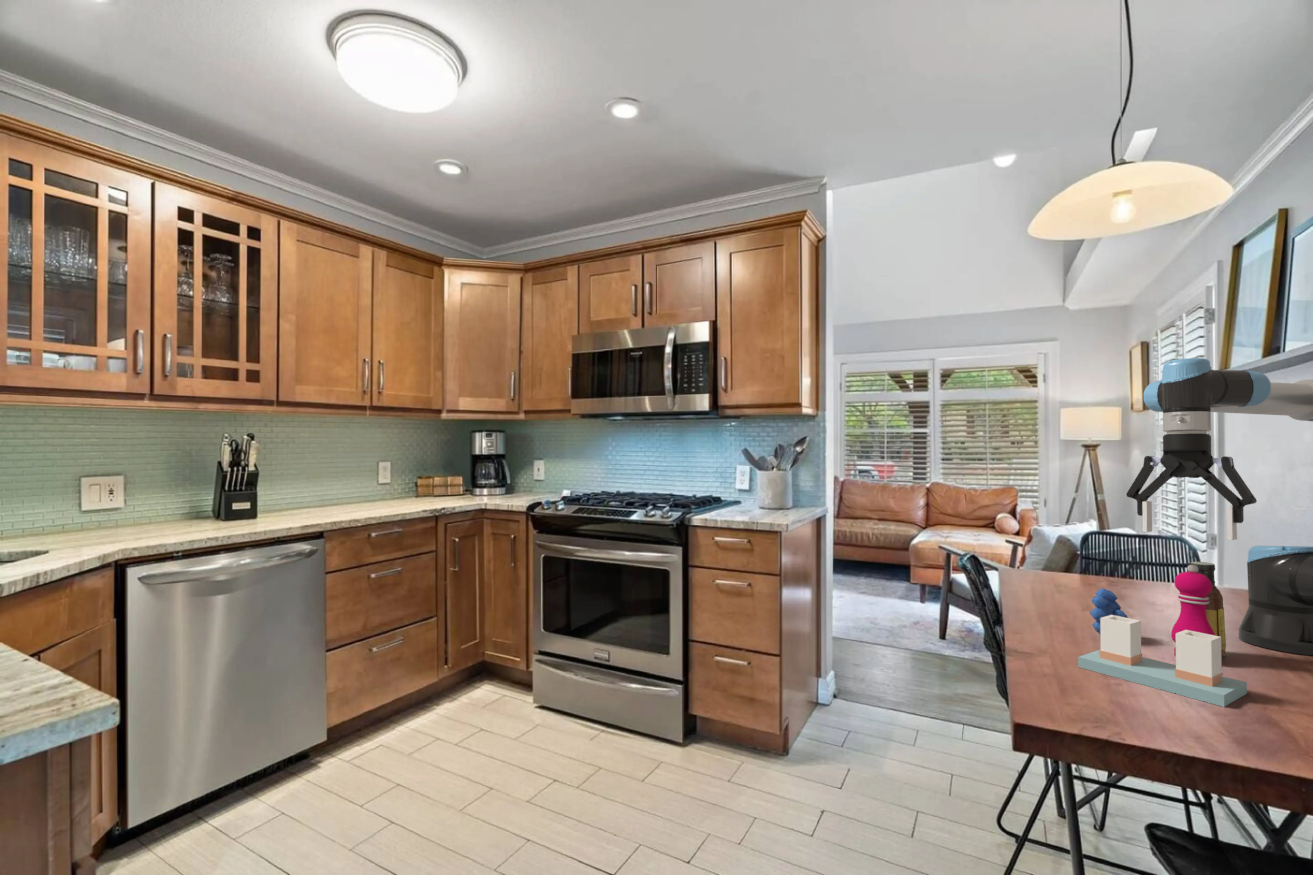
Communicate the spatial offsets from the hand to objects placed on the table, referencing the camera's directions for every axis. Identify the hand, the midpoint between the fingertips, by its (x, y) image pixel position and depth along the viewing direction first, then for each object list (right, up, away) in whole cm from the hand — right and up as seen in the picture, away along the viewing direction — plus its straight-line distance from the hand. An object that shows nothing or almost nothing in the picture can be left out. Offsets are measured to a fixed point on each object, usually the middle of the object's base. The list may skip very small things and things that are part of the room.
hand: (1187, 535), depth 123 cm
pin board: (-14, -26, -9) cm, 31 cm away
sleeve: (-17, -24, -4) cm, 30 cm away
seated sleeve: (-11, -24, -14) cm, 30 cm away
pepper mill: (+4, -27, +3) cm, 28 cm away
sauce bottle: (+10, -27, +7) cm, 30 cm away
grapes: (-4, -27, +16) cm, 32 cm away
